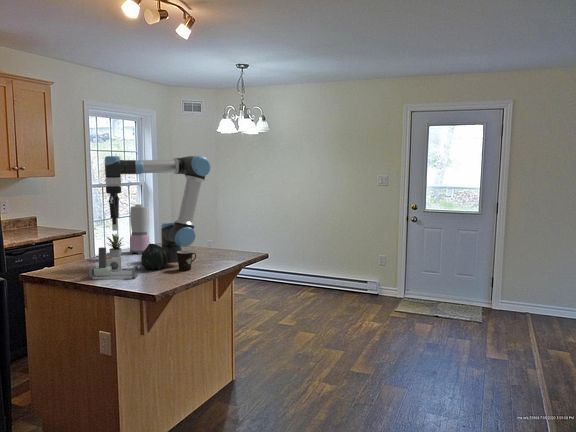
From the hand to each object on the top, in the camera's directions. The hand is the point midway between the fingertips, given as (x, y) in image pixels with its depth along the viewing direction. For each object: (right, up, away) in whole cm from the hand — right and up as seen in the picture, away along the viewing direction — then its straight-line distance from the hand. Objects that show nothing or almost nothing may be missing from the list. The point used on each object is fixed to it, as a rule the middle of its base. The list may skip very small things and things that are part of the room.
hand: (115, 230), depth 234 cm
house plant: (-15, -19, +37) cm, 44 cm away
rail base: (+4, -23, -11) cm, 26 cm away
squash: (+17, -22, +12) cm, 31 cm away
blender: (-6, -17, +60) cm, 63 cm away
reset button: (-3, -18, -2) cm, 18 cm away
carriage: (-2, -22, -12) cm, 25 cm away
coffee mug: (+36, -22, +11) cm, 44 cm away
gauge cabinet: (-2, -22, -2) cm, 23 cm away
